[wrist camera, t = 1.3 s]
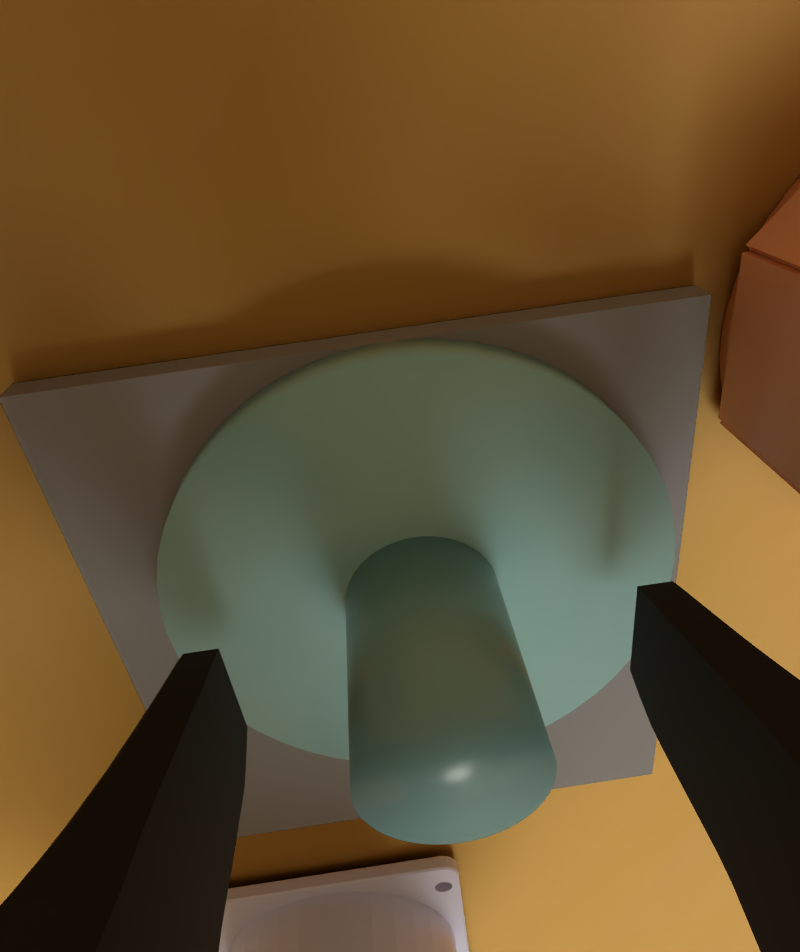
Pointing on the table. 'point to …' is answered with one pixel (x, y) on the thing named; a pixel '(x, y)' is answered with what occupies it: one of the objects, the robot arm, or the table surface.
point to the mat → (249, 371)
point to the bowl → (766, 344)
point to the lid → (418, 571)
